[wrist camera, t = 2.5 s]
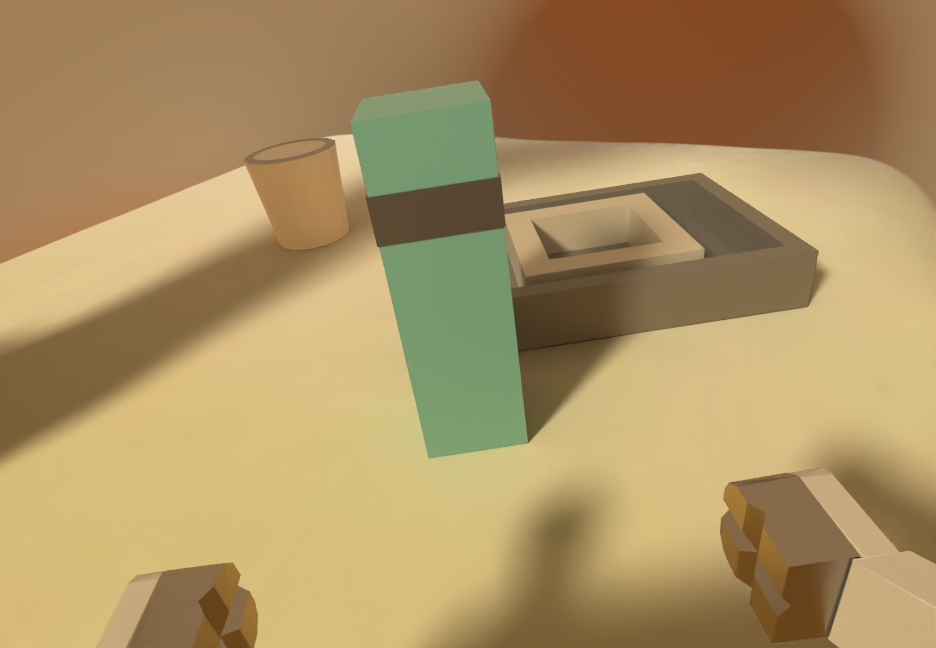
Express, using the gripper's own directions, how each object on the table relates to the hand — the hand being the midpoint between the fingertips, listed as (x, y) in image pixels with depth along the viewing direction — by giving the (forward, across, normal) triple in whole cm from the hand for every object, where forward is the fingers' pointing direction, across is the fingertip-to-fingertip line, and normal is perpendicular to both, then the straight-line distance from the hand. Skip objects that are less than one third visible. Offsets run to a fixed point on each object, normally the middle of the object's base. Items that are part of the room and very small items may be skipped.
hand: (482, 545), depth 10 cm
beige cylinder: (+38, +11, +8) cm, 41 cm away
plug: (+13, 0, +8) cm, 15 cm away
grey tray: (+24, -8, +8) cm, 26 cm away
